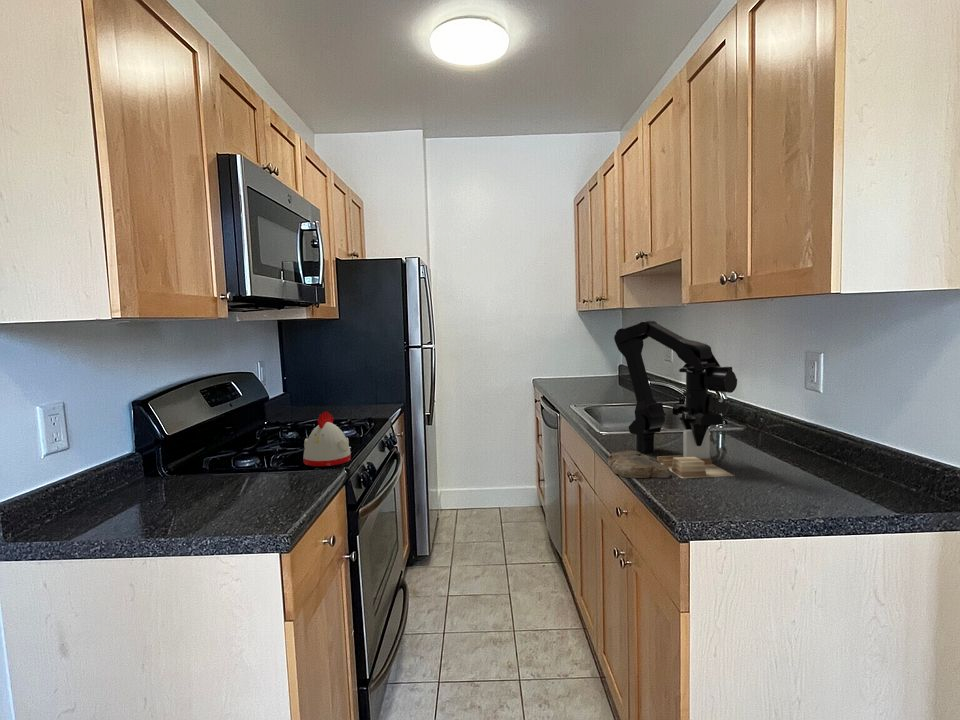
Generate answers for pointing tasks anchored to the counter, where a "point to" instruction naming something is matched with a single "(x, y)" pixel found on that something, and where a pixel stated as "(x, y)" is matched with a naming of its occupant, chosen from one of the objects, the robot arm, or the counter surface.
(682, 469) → the oak offcut
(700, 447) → the panel
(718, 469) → the rack
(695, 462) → the pine offcut
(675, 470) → the tan wooden square tile
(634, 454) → the craggy brown boulder
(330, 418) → the kitchen timer
